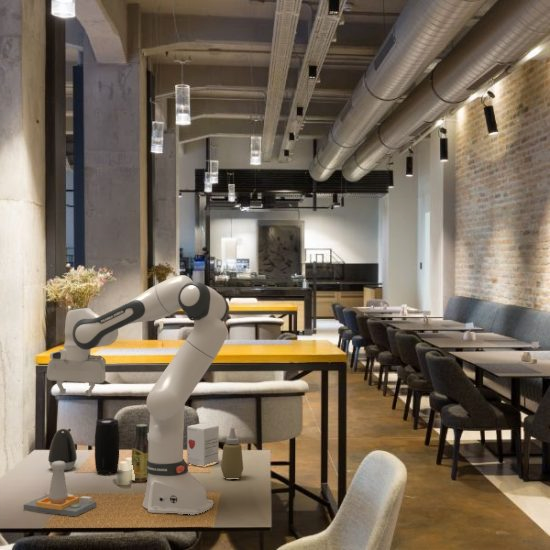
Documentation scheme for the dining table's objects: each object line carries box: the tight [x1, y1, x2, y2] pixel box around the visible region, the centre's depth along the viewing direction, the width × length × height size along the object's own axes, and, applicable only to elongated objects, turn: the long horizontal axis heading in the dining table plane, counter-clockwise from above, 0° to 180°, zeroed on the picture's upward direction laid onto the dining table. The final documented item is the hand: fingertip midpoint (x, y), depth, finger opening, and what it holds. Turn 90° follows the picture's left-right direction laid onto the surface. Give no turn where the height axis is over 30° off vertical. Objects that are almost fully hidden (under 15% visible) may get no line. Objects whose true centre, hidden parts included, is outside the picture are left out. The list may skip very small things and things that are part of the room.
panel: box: [23, 491, 97, 518], centre depth 237 cm, size 19×11×3 cm, turn 70°
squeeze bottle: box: [220, 427, 244, 478], centre depth 274 cm, size 8×8×18 cm
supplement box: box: [186, 422, 220, 466], centre depth 295 cm, size 9×9×15 cm
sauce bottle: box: [131, 423, 148, 483], centre depth 270 cm, size 7×6×20 cm
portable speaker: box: [94, 417, 120, 476], centre depth 281 cm, size 9×9×20 cm
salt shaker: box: [48, 461, 69, 505], centre depth 236 cm, size 6×6×13 cm
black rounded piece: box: [47, 428, 78, 472], centre depth 285 cm, size 10×10×15 cm
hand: (75, 394), depth 261 cm, fingers open, 8 cm apart
